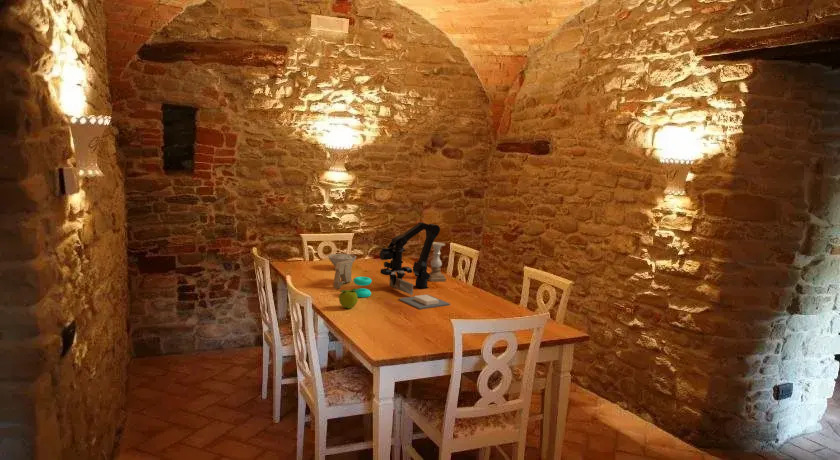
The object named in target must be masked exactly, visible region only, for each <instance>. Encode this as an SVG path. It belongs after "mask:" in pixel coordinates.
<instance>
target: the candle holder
mask: <svg viewBox="0 0 840 460" xmlns="http://www.w3.org/2000/svg"><path fill="white" fill-rule="evenodd" d="M444 246H446V243H444V242H441V241H433V244H432V248H433V250H434V251H433V252H432V254H433V258H432V260H431V262H430V266H431V271H430V272H427V273H428V274H429V275H430V277H429V279H428V281H429V283H430V282H432V283H433V282H435V283H436V282H439V283H440V282H446V281H447V278H446V277H445V275H444V274H443V273H442V272H441V267H442V265H443V262H442V260H441V258H440V256H441V254H442V253H441V248H442V247H444Z"/></svg>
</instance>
